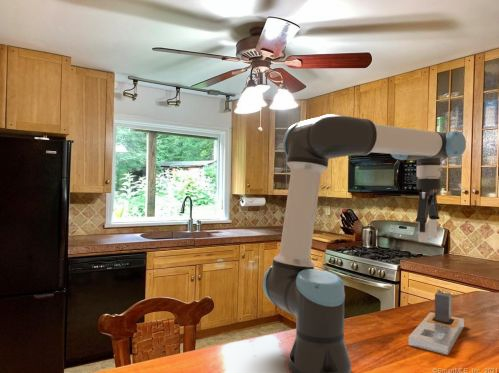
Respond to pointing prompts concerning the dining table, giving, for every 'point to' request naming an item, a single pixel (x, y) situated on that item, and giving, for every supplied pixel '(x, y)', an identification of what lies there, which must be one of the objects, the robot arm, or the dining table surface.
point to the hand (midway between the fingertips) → (427, 239)
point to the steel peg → (443, 307)
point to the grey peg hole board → (436, 334)
